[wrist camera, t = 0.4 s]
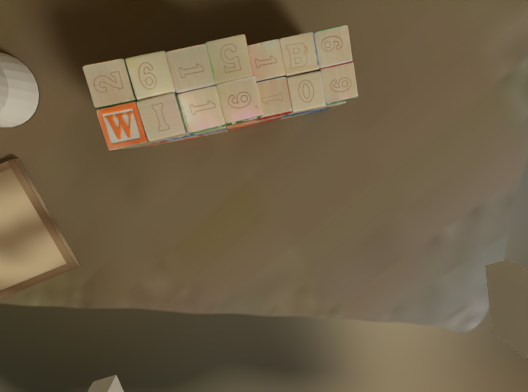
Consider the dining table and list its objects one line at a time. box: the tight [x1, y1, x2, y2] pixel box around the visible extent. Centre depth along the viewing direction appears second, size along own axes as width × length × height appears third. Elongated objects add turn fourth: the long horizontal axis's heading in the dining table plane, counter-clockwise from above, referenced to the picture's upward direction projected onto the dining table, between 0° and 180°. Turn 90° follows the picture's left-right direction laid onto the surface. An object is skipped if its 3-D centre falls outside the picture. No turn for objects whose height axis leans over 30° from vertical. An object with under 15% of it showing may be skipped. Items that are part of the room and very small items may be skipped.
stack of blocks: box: [83, 25, 358, 150], centre depth 28 cm, size 21×6×12 cm, turn 102°
